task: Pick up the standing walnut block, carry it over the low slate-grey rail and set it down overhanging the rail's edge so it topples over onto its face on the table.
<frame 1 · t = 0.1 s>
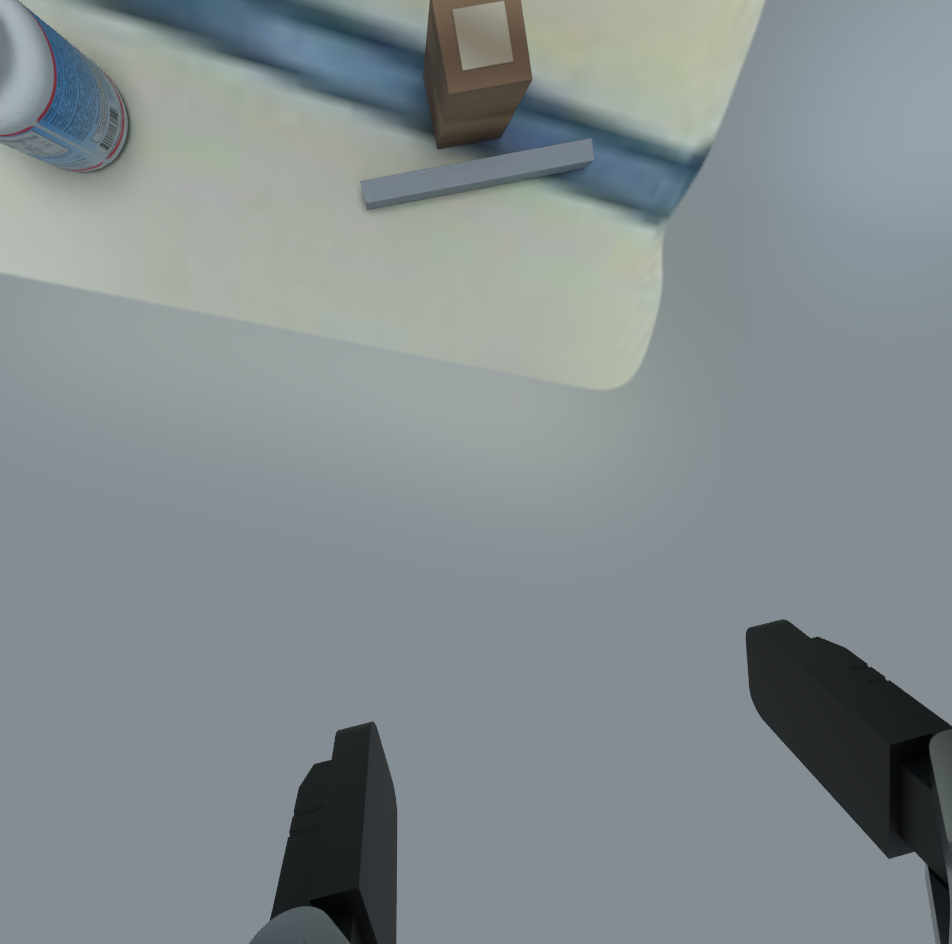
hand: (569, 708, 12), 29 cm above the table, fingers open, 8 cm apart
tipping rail: (475, 178, 36), on the table
walnut block: (462, 107, 35), on the table
pill bottle: (75, 117, 33), on the table
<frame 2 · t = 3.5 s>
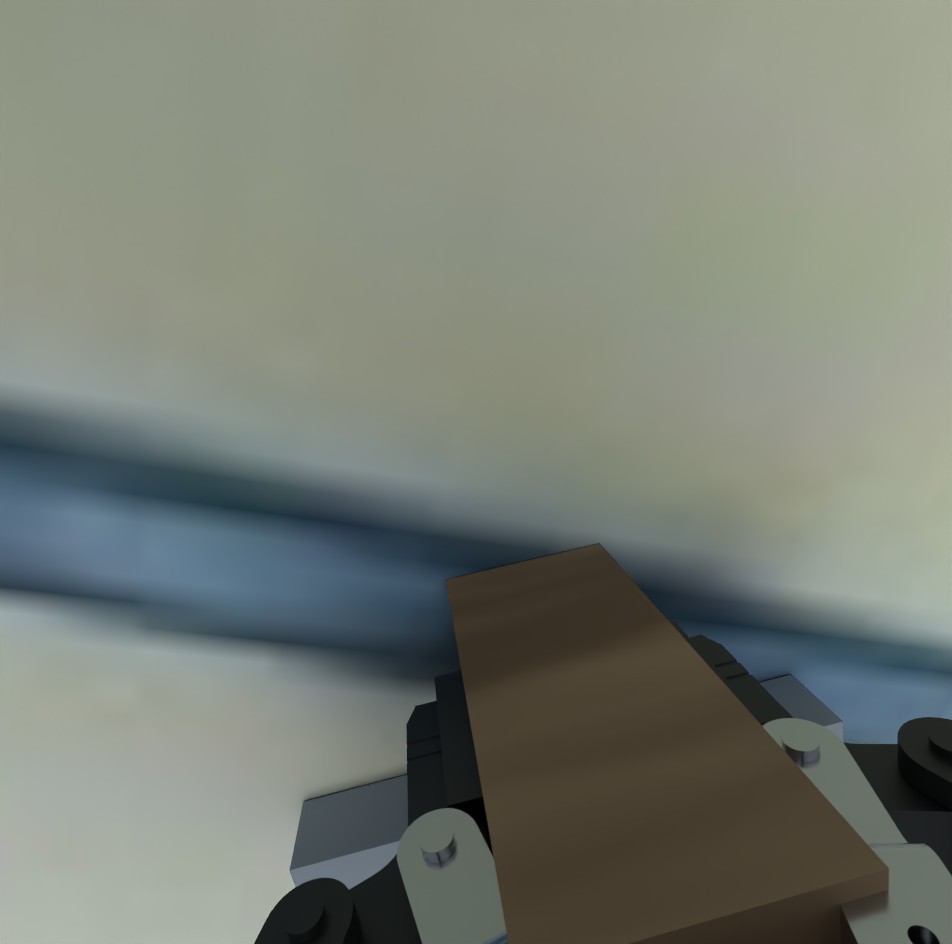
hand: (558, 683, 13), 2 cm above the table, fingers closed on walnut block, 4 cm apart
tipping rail: (558, 753, 16), on the table
walnut block: (536, 630, 15), on the table, touching gripper
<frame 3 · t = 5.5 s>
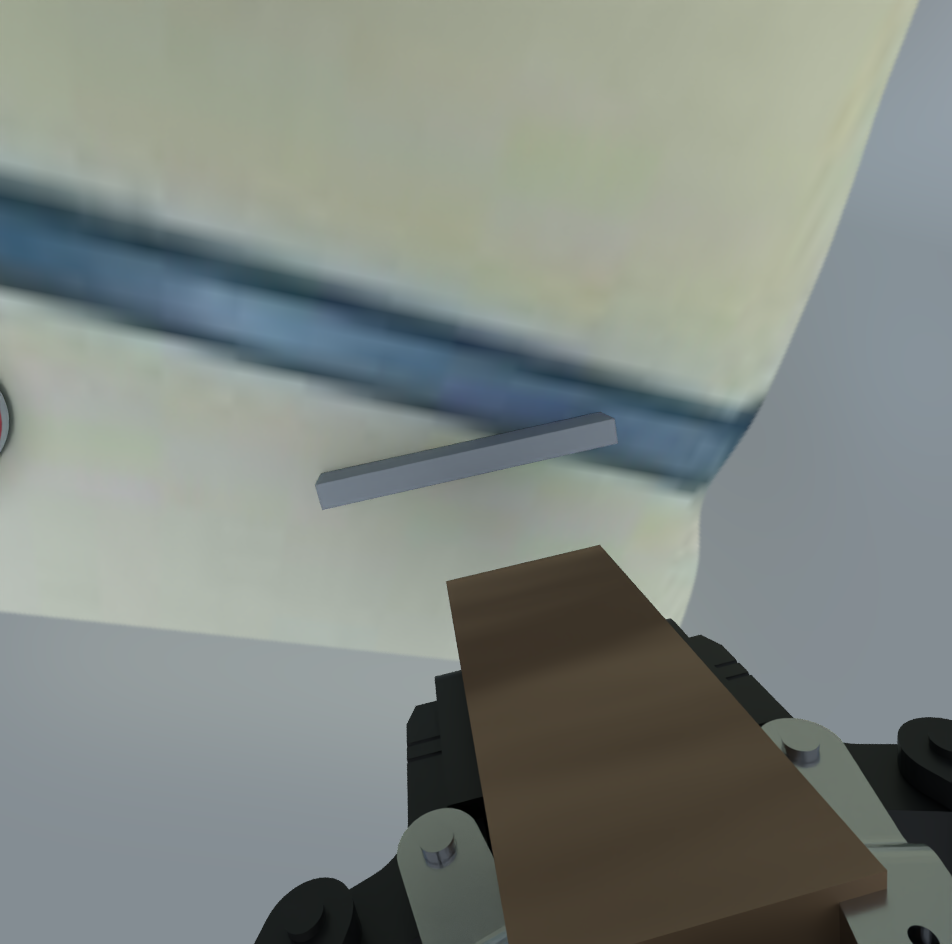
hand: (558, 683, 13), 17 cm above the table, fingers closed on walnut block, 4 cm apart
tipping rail: (465, 453, 28), on the table
walnut block: (536, 631, 15), point 14 cm above the table, touching gripper
when the fingers open (5 cm above the table, at t = 7.8 s): walnut block drops 1 cm and tips over, point 2 cm above the table.
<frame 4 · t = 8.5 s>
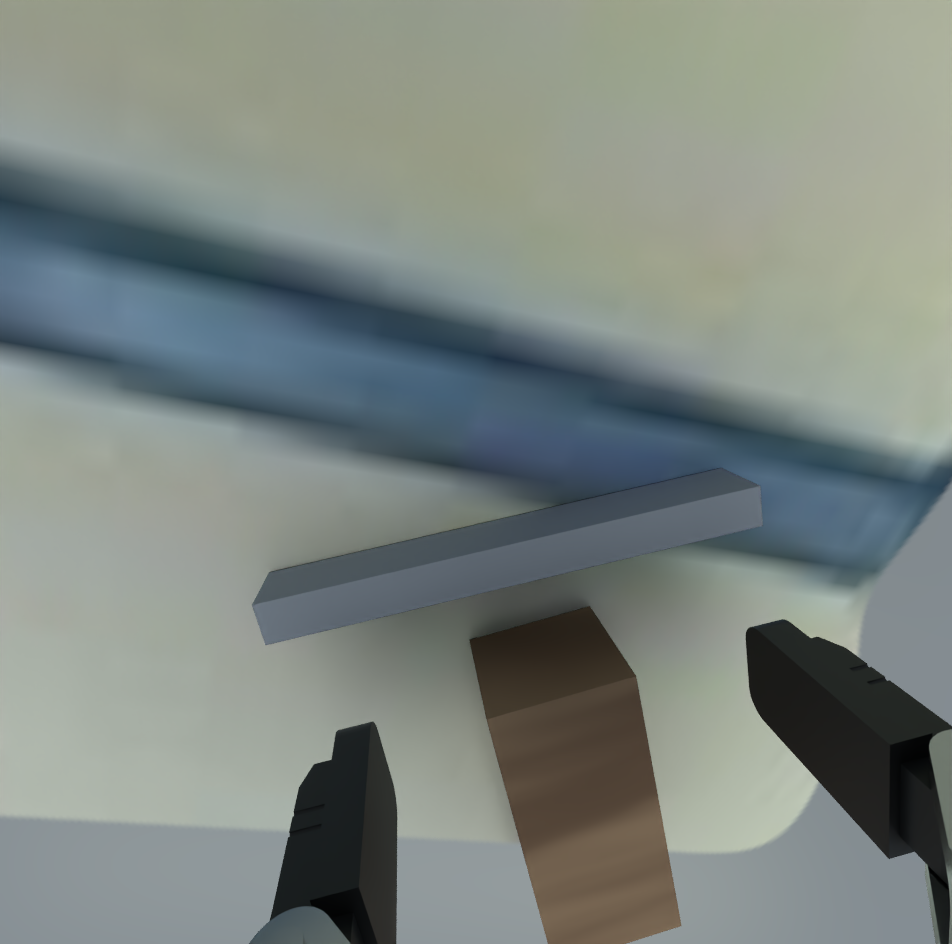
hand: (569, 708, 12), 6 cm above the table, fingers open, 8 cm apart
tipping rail: (505, 537, 17), on the table
walnut block: (543, 654, 17), point 2 cm above the table, tilted 90°
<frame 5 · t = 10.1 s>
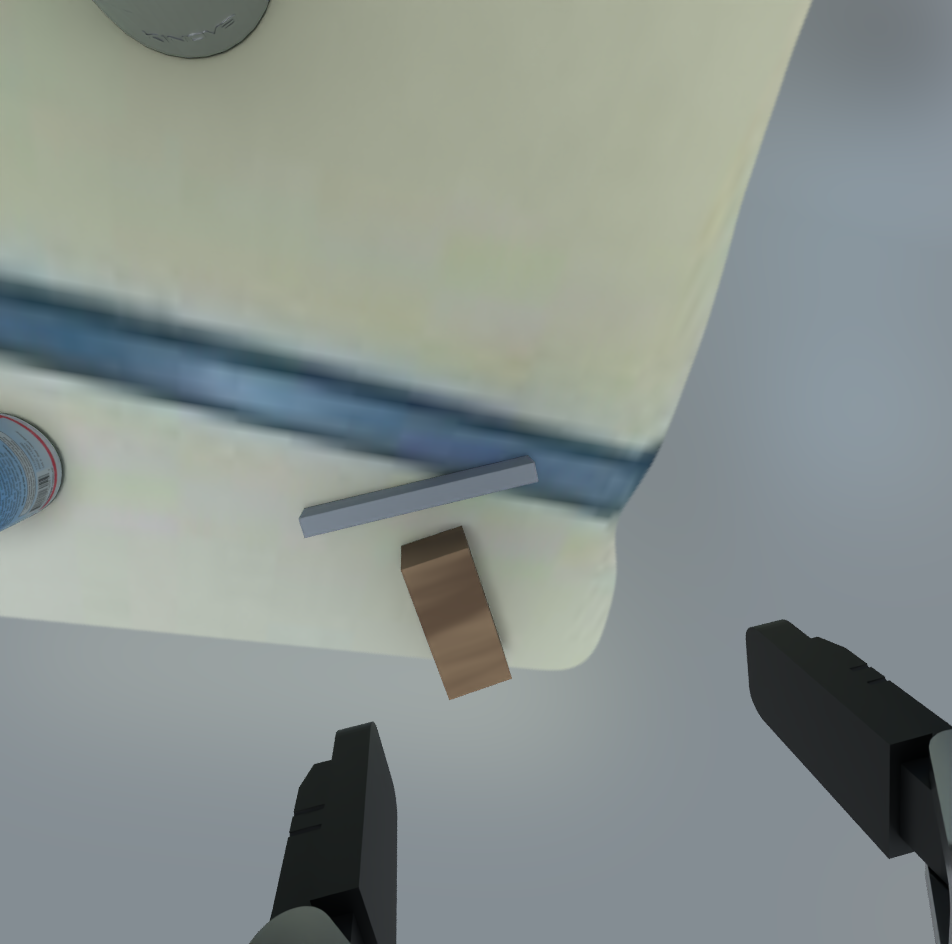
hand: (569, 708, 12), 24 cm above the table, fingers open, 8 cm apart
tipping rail: (419, 490, 35), on the table
walnut block: (433, 546, 34), point 2 cm above the table, tilted 90°
pill bottle: (9, 464, 32), on the table
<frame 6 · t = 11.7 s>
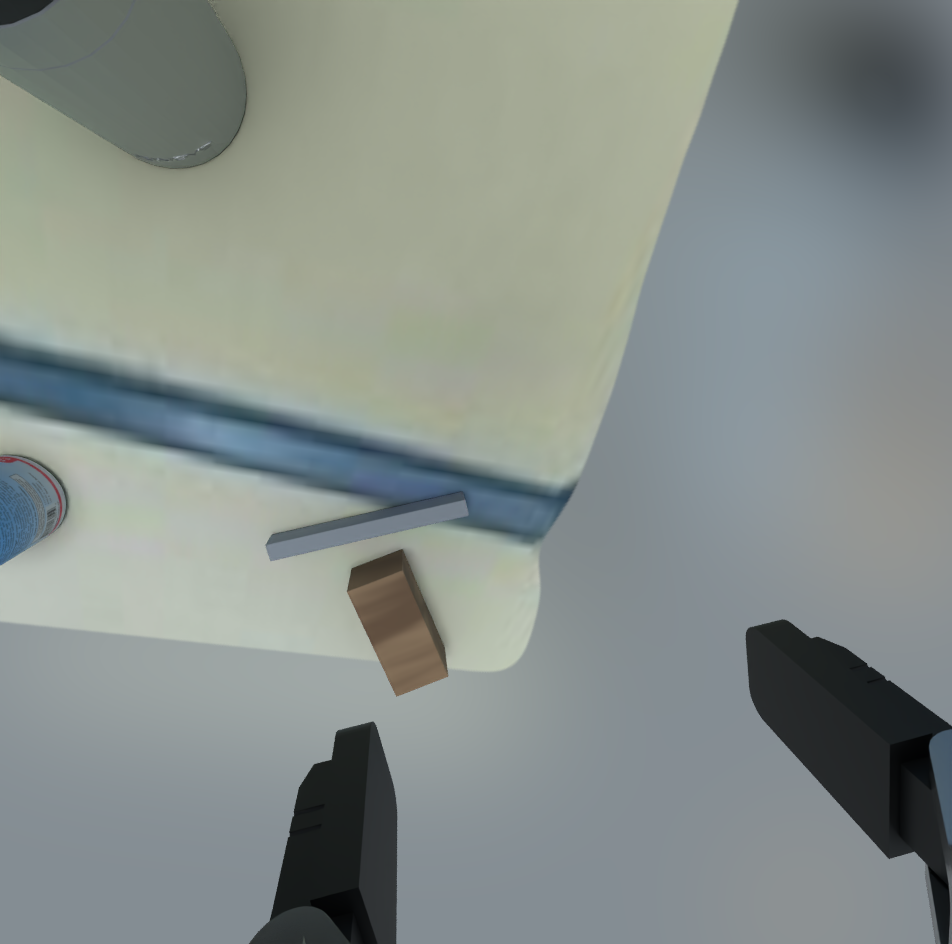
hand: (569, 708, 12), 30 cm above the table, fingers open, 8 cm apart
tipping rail: (370, 520, 42), on the table
walnut block: (376, 568, 41), point 2 cm above the table, tilted 90°
pill bottle: (21, 497, 38), on the table
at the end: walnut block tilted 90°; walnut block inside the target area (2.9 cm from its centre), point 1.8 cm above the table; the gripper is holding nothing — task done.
